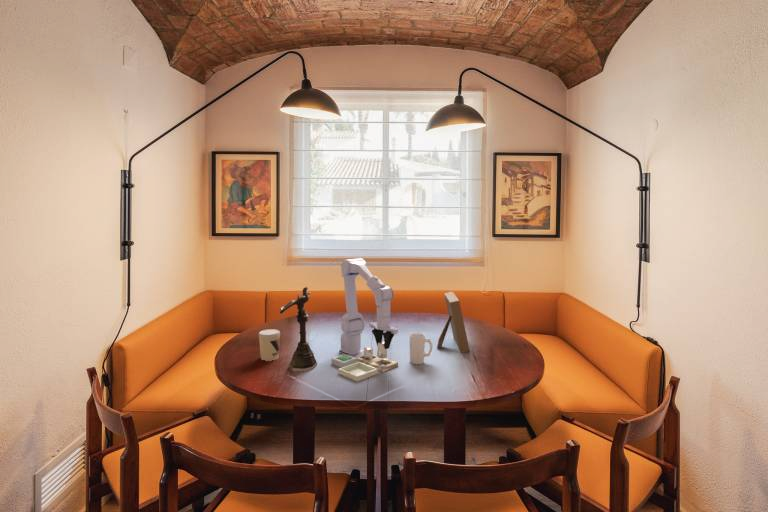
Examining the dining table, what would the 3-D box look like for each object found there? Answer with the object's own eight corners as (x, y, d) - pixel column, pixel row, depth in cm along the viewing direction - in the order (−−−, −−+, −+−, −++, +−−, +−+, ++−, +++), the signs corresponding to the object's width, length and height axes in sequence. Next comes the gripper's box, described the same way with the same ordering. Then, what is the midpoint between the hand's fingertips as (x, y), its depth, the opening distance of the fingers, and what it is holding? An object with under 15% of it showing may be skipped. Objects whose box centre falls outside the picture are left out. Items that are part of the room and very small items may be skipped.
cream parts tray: (353, 361, 180) (353, 357, 180) (368, 356, 187) (368, 352, 187) (383, 373, 168) (383, 368, 168) (398, 367, 174) (398, 362, 174)
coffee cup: (274, 362, 179) (274, 335, 177) (255, 360, 180) (254, 334, 179) (284, 355, 188) (283, 329, 186) (265, 353, 190) (264, 328, 188)
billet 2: (375, 356, 173) (375, 342, 173) (382, 354, 176) (382, 340, 176) (381, 358, 170) (382, 344, 170) (388, 357, 173) (389, 343, 173)
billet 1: (361, 361, 180) (361, 348, 180) (368, 359, 183) (368, 346, 183) (368, 364, 178) (368, 350, 177) (374, 361, 181) (374, 348, 180)
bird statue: (271, 372, 168) (270, 287, 164) (283, 360, 181) (282, 282, 177) (310, 374, 166) (310, 289, 162) (320, 363, 178) (319, 283, 175)
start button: (337, 363, 176) (337, 357, 176) (344, 360, 179) (344, 355, 179) (343, 366, 173) (343, 360, 173) (351, 363, 176) (351, 357, 176)
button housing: (331, 365, 176) (331, 358, 176) (345, 360, 182) (345, 353, 181) (343, 369, 171) (343, 362, 171) (356, 365, 176) (356, 358, 176)
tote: (338, 374, 166) (338, 368, 166) (358, 367, 174) (358, 361, 174) (357, 382, 158) (357, 376, 158) (377, 374, 166) (377, 368, 166)
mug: (408, 364, 178) (408, 337, 177) (409, 358, 185) (410, 332, 183) (431, 365, 177) (432, 338, 175) (432, 360, 183) (432, 333, 182)
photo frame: (461, 338, 215) (463, 291, 212) (469, 352, 193) (471, 300, 191) (433, 338, 215) (434, 291, 213) (438, 352, 194) (439, 300, 191)
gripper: (364, 314, 174) (364, 345, 175) (389, 320, 164) (389, 353, 166) (376, 311, 179) (376, 341, 181) (401, 317, 169) (400, 349, 171)
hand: (383, 347), depth 173 cm, fingers closed on billet 2, 4 cm apart
